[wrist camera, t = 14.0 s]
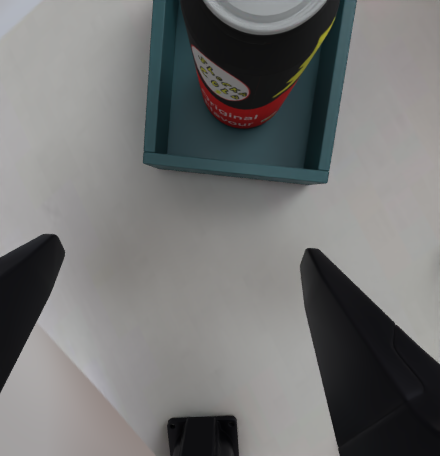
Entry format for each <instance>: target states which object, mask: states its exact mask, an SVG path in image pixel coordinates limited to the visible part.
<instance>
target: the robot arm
mask: <svg viewBox="0 0 440 456" xmlns="http://www.w3.org/2000/svg"><path fill="white" fill-rule="evenodd" d="M64 257H65V250H64V248H63V246H62V244H61V242H60V240H59V237H58V236H57V235H55V234H42V235H40V236H39V237H37V238H35V239H33V240H31V241H30V242H28V243H26V244H24V245H22V246H20V247H19V248H17V249H15V250H13V251H11V252H9V253H8V254H6V255H4V256H2V257H0V392H1V390H2V388H3V387H4V384H5V383H6V380H7V379H8V377H9V375H10V373H11V371H12V369H13V367H14V365H15V363H16V361H17V359H18V357H19V355H20V353H21V351H22V349H23V347H24V345H25V343H26V341H27V339H28V337H29V335H30V333H31V331H32V329H33V327H34V326H35V324H36V322H37V320H38V318H39V316H40V314H41V312H42V310H43V308H44V306H45V304H46V302H47V300H48V298H49V296H50V294H51V291H52V289H53V286H54V284H55V281H56V278H57V276H58V273H59V270H60V268H61V265H62V262H63V260H64ZM300 272H301V281H302V290H303V298H304V306H305V311H306V316H307V320H308V324H309V328H310V332H311V337H312V341H313V345H314V349H315V353H316V357H317V362H318V366H319V370H320V374H321V378H322V383H323V387H324V391H325V395H326V399H327V403H328V408H329V412H330V416H331V420H332V424H333V429H334V433H335V437H336V441H337V445H338V447H339V448H338V450H339V454H340V456H440V364H439V363H438V362H437V361H435V360H434V359H433V358H432V357H431V356H430V355H429V354H427V353H426V352H425V351H424V350H423V349H422V348H421V347H420V346H419V345H417V344H416V343H415V342H414V341H413V340H412V339H411V338H410V337H409V336H408V335H407V334H406V333H405V332H404V331H403V330H402V329H401V328H400V327H399V326H397V325H395V323H394V322H393V321H392V320H391V319H390V318H389V317H388V316H387V315H386V314H385V313H384V312H383V311H382V310H381V309H380V308H379V307H378V306H377V305H376V304H375V303H374V302H373V301H372V300H371V299H370V298H369V297H368V296H367V295H365V294H364V293H363V292H362V291H361V290H360V289H359V288H358V287H357V286H356V285H355V284H354V283H353V282H352V281H351V280H350V279H349V278H348V277H347V276H346V275H345V274H344V273H343V272H342V271H341V270H340V269H339V268H338V267H337V266H336V265H335V264H334V263H333V262H331V261H330V260H329V259H328V258H327V257H326V256H325V255H324V254H323V253H322V252H321V251H320V250H319V249H315V248H307V249H306V250H305V253H304V255H303V258H302V261H301V264H300ZM230 422H233V423H230ZM172 424H174V425H172ZM167 429H168V438H169V447H170V456H239V450H238V435H237V420H236V418H235V417H234V416H212V417H187V418H171V419H170V420H169V421H168V425H167Z"/></svg>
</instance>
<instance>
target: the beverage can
mask: <svg viewBox="0 0 440 456" xmlns="http://www.w3.org/2000/svg"><path fill="white" fill-rule="evenodd" d="M339 3H340V0H180V4H181V10H182V14H183V18H184V22H185V26H186V30H187V34H188V38H189V43H190V47H191V51H192V55H193V59H194V63H195V67H196V71H197V75H198V79H199V83H200V87H201V91H202V95H203V99H204V102H205V104H206V106H207V108H208V109H209V111H210V112H211V113H212V114H213V116H214V117H215V118H217V119H218V120H219V121H220V122H222V123H224V124H226V125H228V126H231V127H234V128H241V129H246V128H253V127H256V126H259V125H261V124H263V123H265V122H266V121H268V120H269V119H270V118H272V117H273V116H274V115H275V114H276V112H277V111H278V110H279V108H280V107H281V105H282V104H283V102H284V101H285V99H286V98H287V96H288V94H289V93H290V91H291V90H292V88H293V87H294V85H295V84H296V82H297V81H298V79H299V77H300V76H301V74H302V73H303V71H304V70H305V68H306V67H307V65H308V63H309V62H310V60H311V59H312V57H313V56H314V54H315V53H316V51H317V49H318V48H319V46H320V45H321V43H322V42H323V40H324V39H325V37H326V35H327V34H328V32H329V30H330V28H331V26H332V24H333V22H334V20H335V17H336V14H337V11H338V7H339Z"/></svg>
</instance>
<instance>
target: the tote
mask: <svg viewBox="0 0 440 456" xmlns="http://www.w3.org/2000/svg"><path fill="white" fill-rule="evenodd" d="M356 2H357V0H340V3H339V7H338V11H337V14H336V17H335V20H334V22H333V24H332V26H331V28H330V30H329V32H328V34H327V35H326V37H325V39H324V40H323V42H322V43H321V45H320V46H319V48H318V49H317V51H316V53H315V54H314V56H313V57H312V59H311V60H310V62H309V63H308V65H307V67H306V68H305V70H304V71H303V73H302V74H301V76H300V77H299V79H298V81H297V82H296V84H295V85H294V87H293V88H292V90H291V91H290V93H289V94H288V96H287V98H286V99H285V101H284V102H283V104H282V105H281V107H280V108H279V110H278V111H277V112H276V114H275V115H274V116H273V117H272V118H270V119H269V120H268V121H266V122H265V123H263V124H261V125H259V126H256V127H253V128H246V129H241V128H234V127H231V126H228V125H226V124H224V123H222V122H220V121H219V120H218V119H217V118H215V117H214V116H213V114H212V113H211V112H210V111H209V109H208V108H207V106H206V104H205V102H204V99H203V95H202V91H201V87H200V83H199V79H198V75H197V71H196V67H195V63H194V59H193V55H192V51H191V47H190V43H189V38H188V34H187V30H186V26H185V22H184V18H183V14H182V10H181V4H180V0H153V12H152V28H151V44H150V59H149V75H148V91H147V106H146V122H145V137H144V154H143V163H144V164H146V165H149V166H152V167H155V168H158V169H165V170H175V171H184V172H193V173H203V174H212V175H221V176H231V177H240V178H249V179H258V180H268V181H277V182H286V183H296V184H305V185H312V184H324V183H327V182H328V175H329V172H328V171H329V169H330V163H331V156H332V150H333V144H334V138H335V132H336V126H337V119H338V113H339V107H340V101H341V95H342V89H343V82H344V76H345V70H346V64H347V58H348V52H349V46H350V39H351V33H352V27H353V21H354V15H355V9H356Z"/></svg>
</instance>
